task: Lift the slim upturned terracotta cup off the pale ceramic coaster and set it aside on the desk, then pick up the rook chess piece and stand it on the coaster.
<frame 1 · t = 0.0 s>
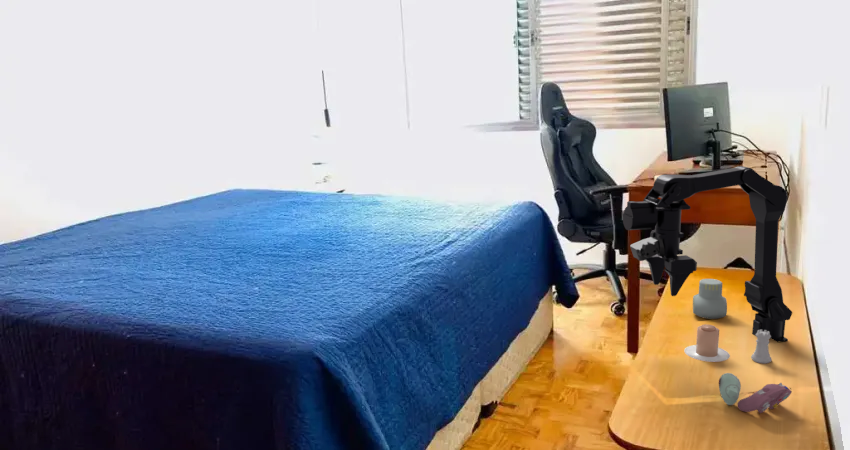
hand: (664, 290, 164), 15 cm above the table, tool pointing down, fingers open, 9 cm apart
rook chess piece: (760, 364, 156), on the table
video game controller: (764, 410, 135), on the table
air freshener: (708, 316, 187), on the table
cup: (706, 352, 160), point 1 cm above the table, touching coaster
coaster: (706, 356, 160), on the table
robot head: (728, 405, 137), on the table
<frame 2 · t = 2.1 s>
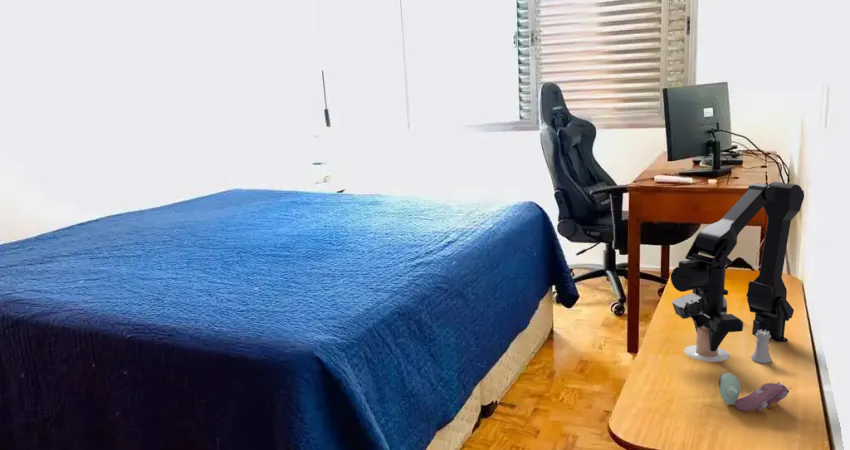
hand: (707, 346, 160), 3 cm above the table, tool pointing down, fingers closed on cup, 5 cm apart
cup: (706, 352, 160), point 1 cm above the table, touching coaster, gripper
everything else where it was.
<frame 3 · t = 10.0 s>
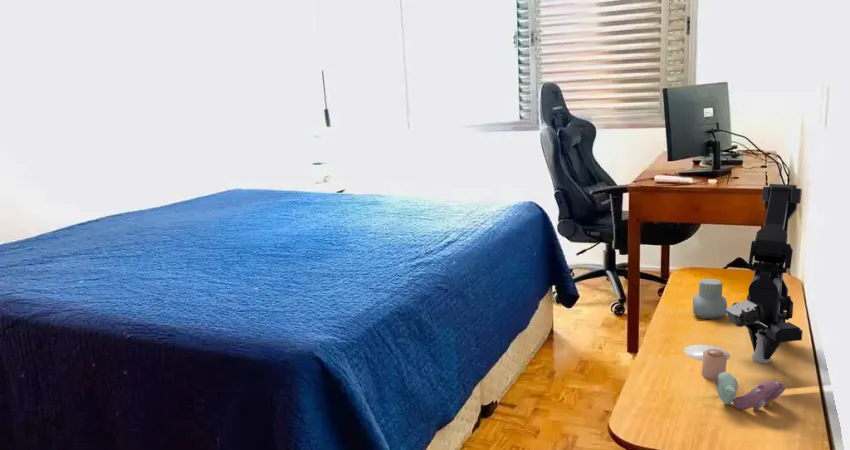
hand: (761, 355, 155), 2 cm above the table, tool pointing down, fingers closed on rook chess piece, 3 cm apart
rook chess piece: (760, 364, 156), on the table, touching gripper
cup: (713, 379, 148), on the table
when the fingers open (4 cm above the table, at t = 13.4 s): rook chess piece drops 1 cm, resting on coaster.
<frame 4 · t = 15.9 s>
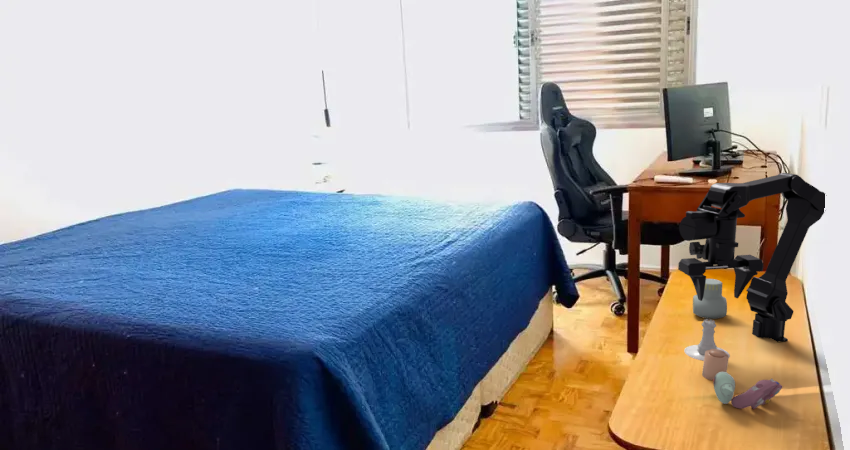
hand: (718, 299, 163), 12 cm above the table, tool pointing down, fingers open, 9 cm apart
rook chess piece: (707, 353, 160), point 1 cm above the table, touching coaster
at the end: rook chess piece 0.1 cm from the coaster (horizontally); rook chess piece tilted 0°; cup moved 12.9 cm from its start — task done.
